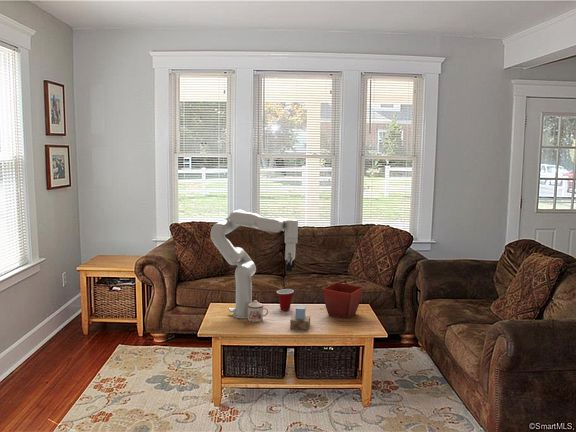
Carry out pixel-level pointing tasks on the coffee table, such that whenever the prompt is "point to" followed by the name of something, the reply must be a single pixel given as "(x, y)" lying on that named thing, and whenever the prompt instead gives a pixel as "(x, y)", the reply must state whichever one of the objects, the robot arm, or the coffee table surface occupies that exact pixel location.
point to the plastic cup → (285, 298)
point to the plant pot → (342, 299)
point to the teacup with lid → (256, 311)
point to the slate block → (300, 313)
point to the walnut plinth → (300, 323)
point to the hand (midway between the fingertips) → (290, 269)
